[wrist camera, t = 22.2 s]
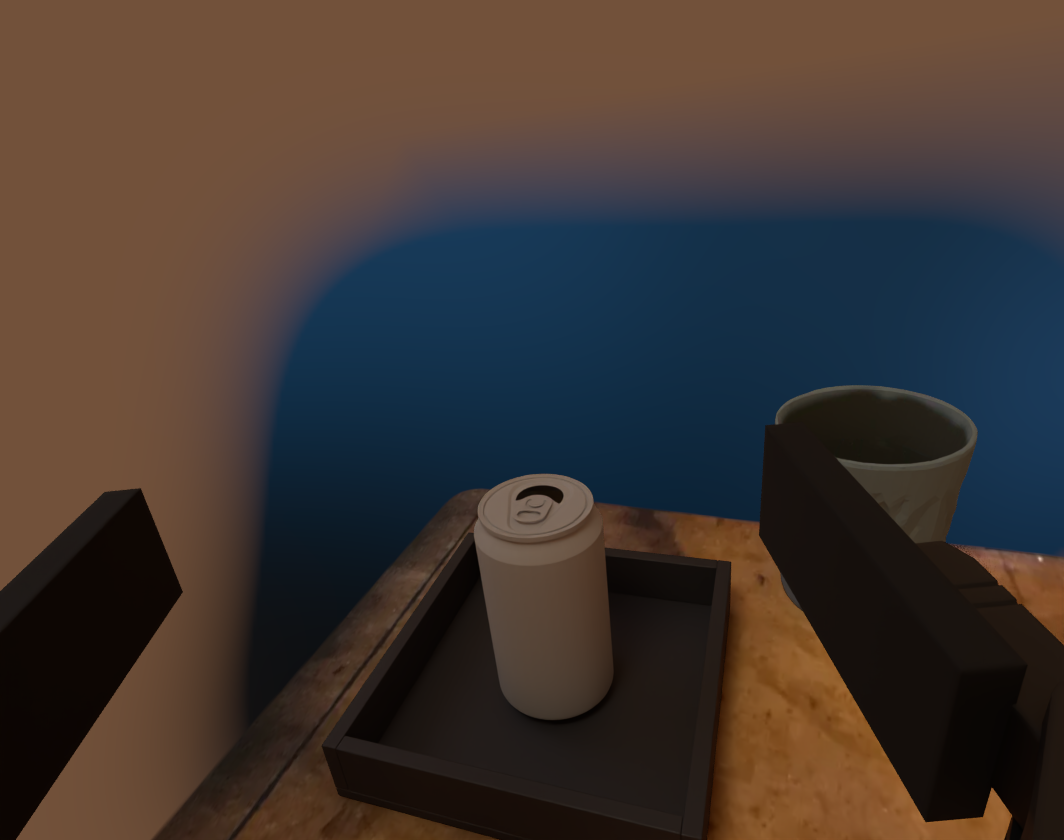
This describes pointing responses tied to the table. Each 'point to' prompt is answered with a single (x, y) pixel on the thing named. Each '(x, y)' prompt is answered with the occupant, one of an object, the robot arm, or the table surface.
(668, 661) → the tray
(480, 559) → the beverage can
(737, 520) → the table surface
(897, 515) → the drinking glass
